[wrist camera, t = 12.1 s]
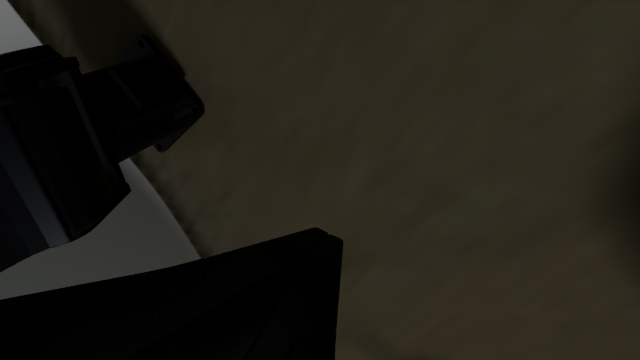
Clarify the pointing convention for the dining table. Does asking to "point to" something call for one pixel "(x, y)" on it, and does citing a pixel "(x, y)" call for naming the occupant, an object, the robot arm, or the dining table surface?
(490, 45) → the dining table surface
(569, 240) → the dining table surface
